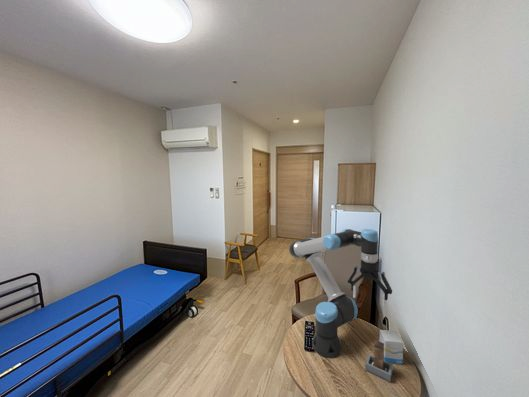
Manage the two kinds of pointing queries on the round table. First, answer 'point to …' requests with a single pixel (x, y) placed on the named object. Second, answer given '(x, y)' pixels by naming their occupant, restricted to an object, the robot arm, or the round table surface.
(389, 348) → the ink box
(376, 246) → the robot arm
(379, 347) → the wooden beam
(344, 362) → the round table surface
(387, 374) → the grey tray with pegs
